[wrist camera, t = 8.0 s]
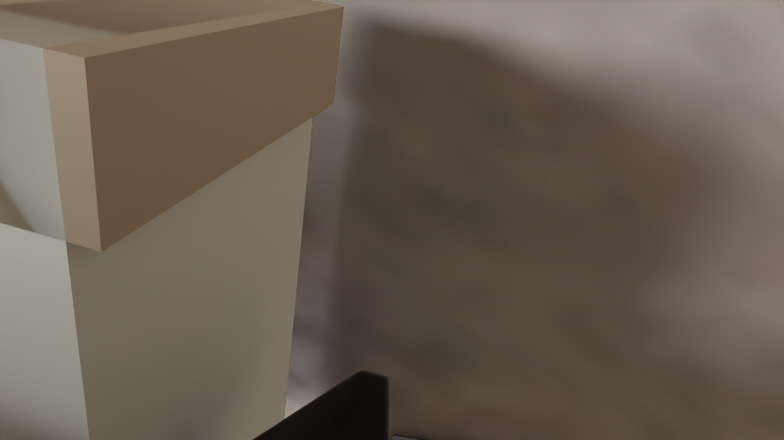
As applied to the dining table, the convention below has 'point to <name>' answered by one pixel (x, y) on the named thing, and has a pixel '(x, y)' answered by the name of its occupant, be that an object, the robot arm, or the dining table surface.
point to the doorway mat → (401, 438)
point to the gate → (154, 212)
